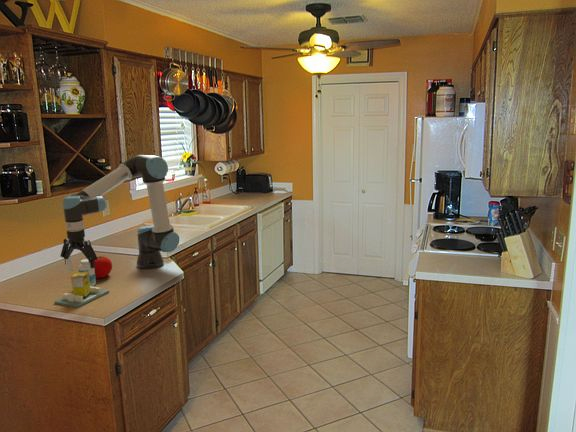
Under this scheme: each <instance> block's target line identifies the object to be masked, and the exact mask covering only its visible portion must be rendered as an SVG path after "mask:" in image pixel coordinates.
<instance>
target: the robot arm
mask: <svg viewBox="0 0 576 432" xmlns="http://www.w3.org/2000/svg"><path fill="white" fill-rule="evenodd" d="M168 171H169V166H168V163H167V161H166V160H165V159H164V158H163V157H161V156H157V155H148V154H145V155H144V154H138V155H135V156H132V157H130V158H128V159H127V160H125V161H122V162H121V163H120V164H119V165H118V167H117V168H116V169H114V170H112V171H111V172H109V173H107V174H106V175H105V176H103V177H101V178H100V179H98V180H96V181H95V182H93V183H92V184H90V185H88V186H87V187H85V188H83V189H82V190H80V191H79V192H77V193H71V194H69V195H67V196H66V197H63V199H62V209H63V214H64V221H65V229H66V230H67V231H66V238H64V239H63V244H62V249H61V251H60V255H59V256H60V258H63V259H64V264H65V266H66V273H70V272H72V271H73V263H72V257H71V256H72V253H73V251H74V250H77V251H80V252H81V253H82V254H83V255H84V256H85V259H88V261H89V262H88V268H89V275H90V276H91V275H93V274H95V270H94V268H95V263H94V261H95V260H97V259H98V258H97V257H98V256H97V254H96V252H95V250H94V248H93V246H92V243H91V241H90V239H88V240H85V236H86V234H85V232H86V231H85V226H84V217H83V216H86V215H92V214H96V213H97V214H98V213H100V212H103V211H105V210H106V208H107V202H106V199H105V198H104V197H103V196H104V195H105V194H107V193H109V192H110V191H111V190H113V189H115V188H116V187H118V186H120V185H122V184H123V183H124V182H125V181H130V180H133V179H134V178H138V177H141V178H142V183H143V184H144V185H146V188H147V190H146V191H147V194H148V200H149V206H150V207H149V208H150V211H151V212H150V213H151V218H152V222H153V225H152V224H151V225H144V226H140V227H139V228H138V229H137V234H136V236H137V242H138V243H137V245H138V255H137V260H136V267H137V268H138V269H143V270H144V269H145V270H148V269H149V270H150V269H156V268H160V267H162V266H164V263H165V261H164V258H163V256H162V253H172V252H174V251H175V250H176V249H177V248H178V246H179V244H180V236H179V234H178V233H177V232H175V229H174V226H173V225H172V224H171V222H170V217H169V210H168V204H167V198H166V192H165V187H164V182H165V181H166V177H167V174H168ZM161 252H162V253H161Z"/></svg>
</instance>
